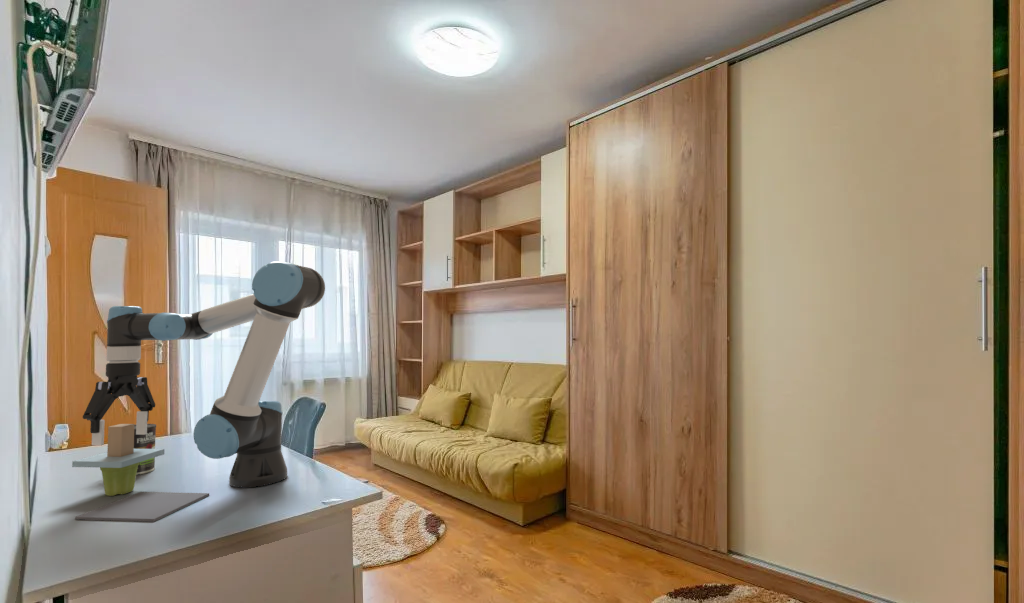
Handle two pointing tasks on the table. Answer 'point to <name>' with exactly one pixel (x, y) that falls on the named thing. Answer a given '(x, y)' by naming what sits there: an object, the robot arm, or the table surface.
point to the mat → (143, 506)
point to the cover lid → (119, 450)
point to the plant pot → (119, 479)
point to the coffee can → (145, 443)
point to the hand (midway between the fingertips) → (120, 439)
